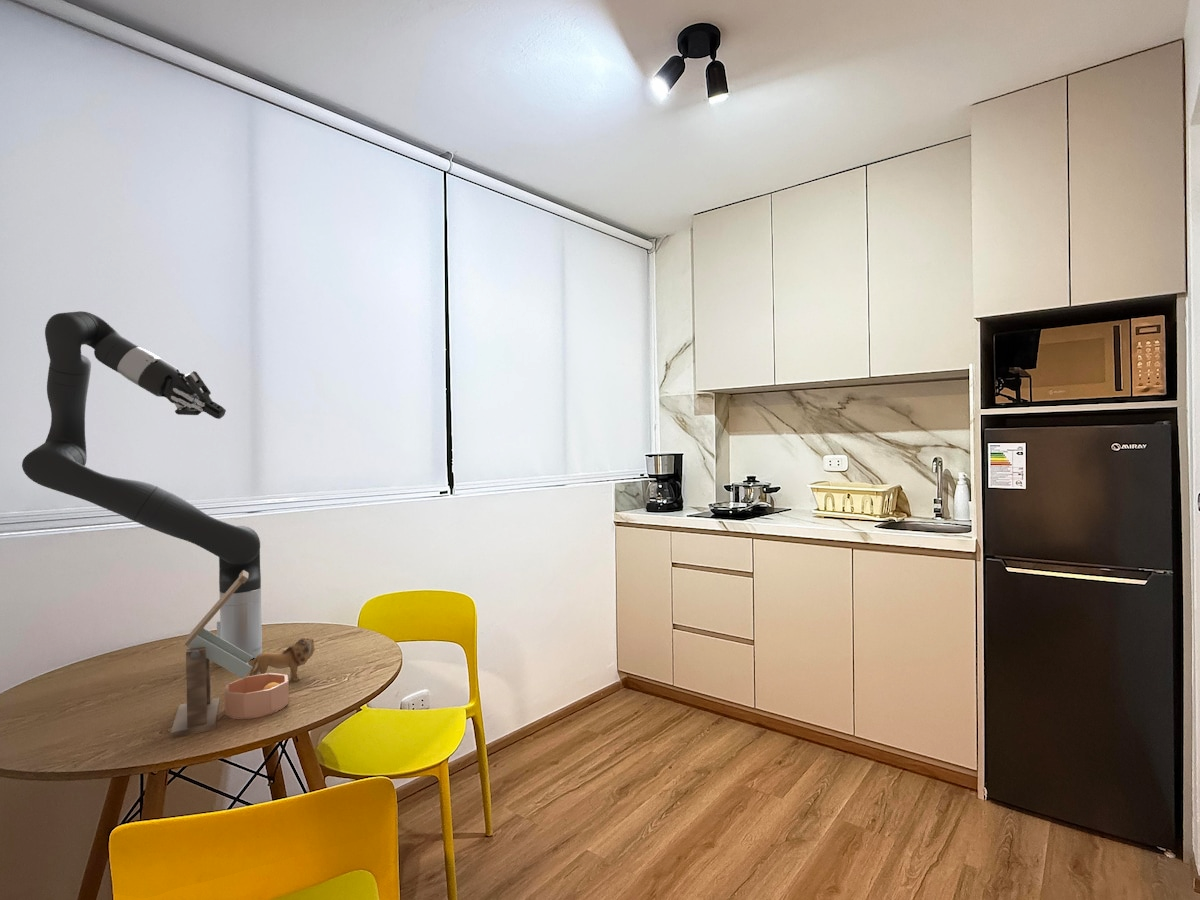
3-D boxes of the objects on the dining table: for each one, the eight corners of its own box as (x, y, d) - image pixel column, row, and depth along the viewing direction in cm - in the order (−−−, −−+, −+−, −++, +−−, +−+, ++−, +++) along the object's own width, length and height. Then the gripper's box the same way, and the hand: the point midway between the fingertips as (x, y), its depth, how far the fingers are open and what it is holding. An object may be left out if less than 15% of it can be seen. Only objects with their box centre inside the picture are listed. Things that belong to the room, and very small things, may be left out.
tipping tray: (182, 644, 120) (242, 575, 125) (186, 634, 127) (243, 569, 132) (243, 678, 125) (298, 611, 129) (243, 667, 132) (296, 603, 137)
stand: (170, 738, 116) (169, 655, 116) (179, 709, 129) (178, 635, 129) (215, 729, 119) (213, 649, 119) (219, 702, 133) (218, 629, 133)
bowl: (224, 724, 122) (223, 698, 122) (226, 703, 132) (226, 679, 132) (289, 711, 127) (289, 686, 127) (287, 693, 137) (287, 669, 137)
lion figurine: (314, 671, 151) (313, 633, 151) (315, 677, 146) (315, 638, 146) (243, 682, 144) (242, 643, 144) (242, 690, 139) (241, 649, 139)
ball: (288, 700, 132) (267, 710, 130) (282, 684, 134) (262, 694, 132) (283, 691, 129) (262, 701, 127) (277, 675, 131) (256, 685, 129)
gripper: (131, 400, 141) (205, 442, 145) (141, 358, 134) (219, 403, 138) (156, 384, 147) (226, 425, 151) (167, 343, 140) (240, 387, 144)
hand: (222, 414), depth 144 cm, fingers closed
